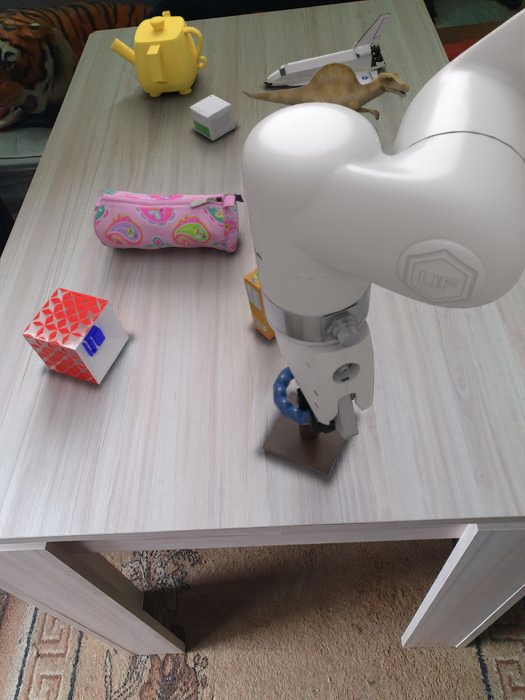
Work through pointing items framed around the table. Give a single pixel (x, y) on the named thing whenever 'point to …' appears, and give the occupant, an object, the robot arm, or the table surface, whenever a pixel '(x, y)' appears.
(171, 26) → the teapot
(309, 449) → the peg
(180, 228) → the pencil case
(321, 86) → the dinosaur figurine
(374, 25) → the space shuttle model
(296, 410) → the ring
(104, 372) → the red patterned cube box
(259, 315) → the supplement box
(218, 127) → the small box
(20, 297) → the table surface
